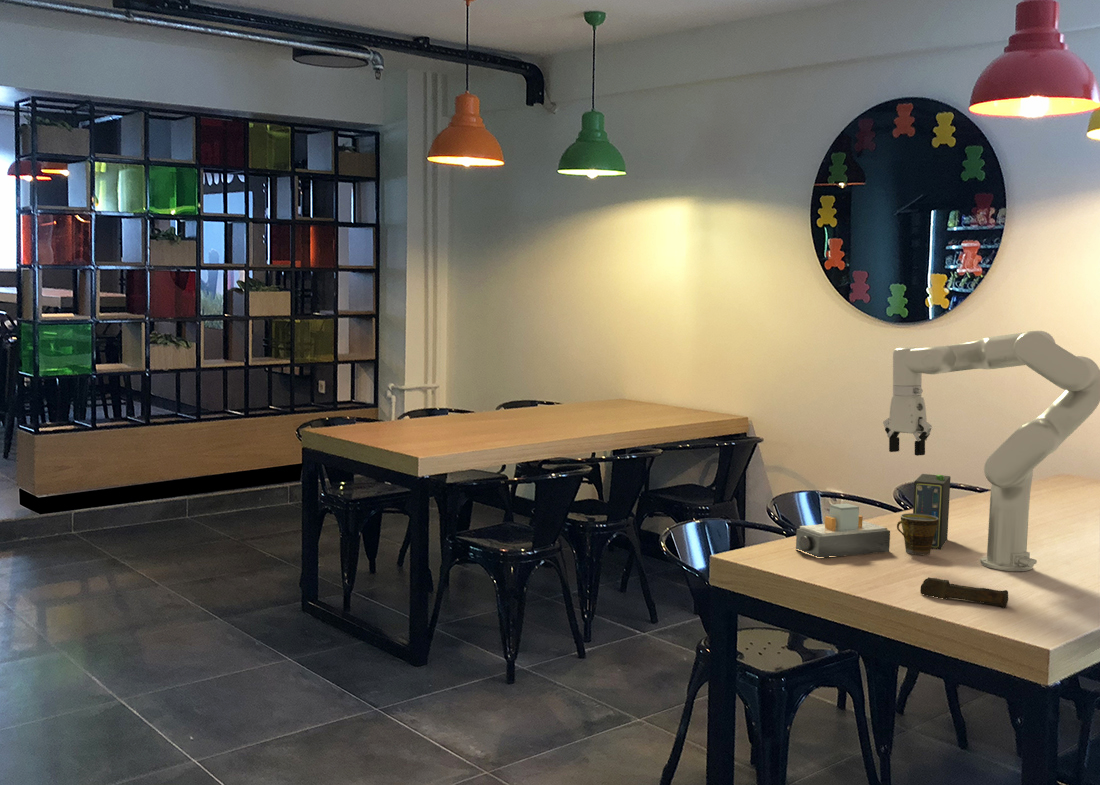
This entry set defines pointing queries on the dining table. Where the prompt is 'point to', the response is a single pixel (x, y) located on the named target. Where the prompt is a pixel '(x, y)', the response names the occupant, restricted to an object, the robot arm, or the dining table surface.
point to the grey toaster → (842, 539)
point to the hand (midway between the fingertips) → (906, 453)
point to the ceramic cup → (918, 532)
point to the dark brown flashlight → (963, 592)
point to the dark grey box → (933, 503)
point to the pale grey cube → (845, 515)
